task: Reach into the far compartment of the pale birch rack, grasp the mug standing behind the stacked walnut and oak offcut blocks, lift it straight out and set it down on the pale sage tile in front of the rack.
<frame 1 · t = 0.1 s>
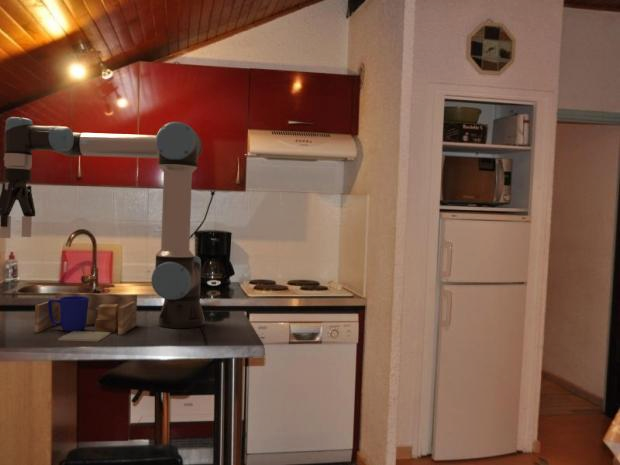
hand: (16, 237, 180), 28 cm above the counter, fingers open, 13 cm apart
offcut walnut: (108, 330, 182), on the counter, touching offcut oak
offcut oak: (108, 318, 182), point 4 cm above the counter, touching offcut walnut
sage tile: (85, 337, 170), on the counter
rack: (87, 328, 183), on the counter
mug: (67, 330, 180), on the counter
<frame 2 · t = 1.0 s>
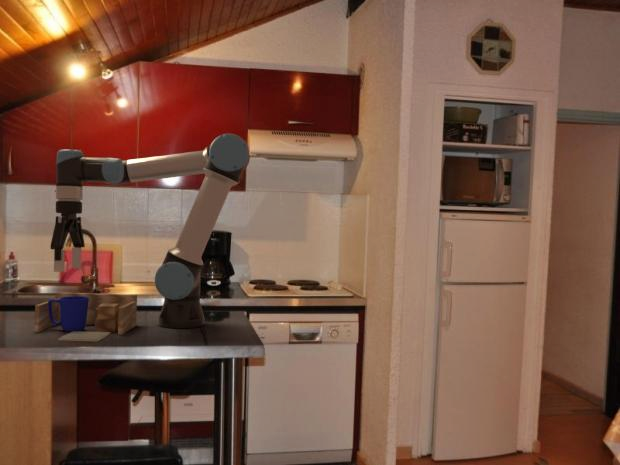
hand: (68, 269, 179), 18 cm above the counter, fingers open, 13 cm apart
nothing on the counter moved.
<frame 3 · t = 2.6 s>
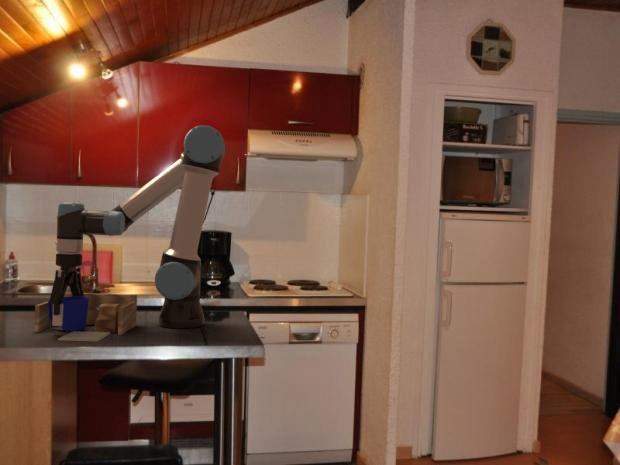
hand: (66, 322, 179), 2 cm above the counter, fingers open, 13 cm apart
nothing on the counter moved.
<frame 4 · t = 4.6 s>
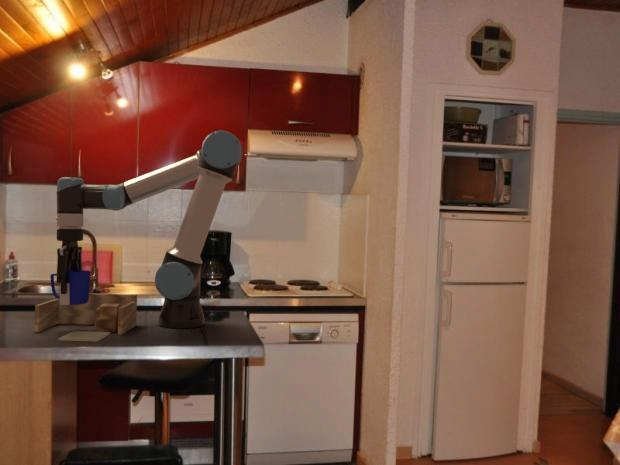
hand: (69, 302, 179), 8 cm above the counter, fingers closed on mug, 7 cm apart
mug: (70, 304, 180), point 8 cm above the counter, touching gripper
everything else where it was.
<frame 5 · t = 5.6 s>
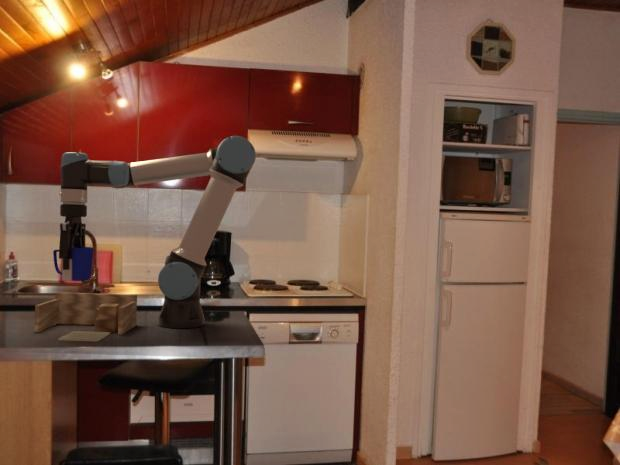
hand: (72, 279, 178), 16 cm above the counter, fingers closed on mug, 7 cm apart
mug: (72, 280, 178), point 15 cm above the counter, touching gripper
everything else where it was.
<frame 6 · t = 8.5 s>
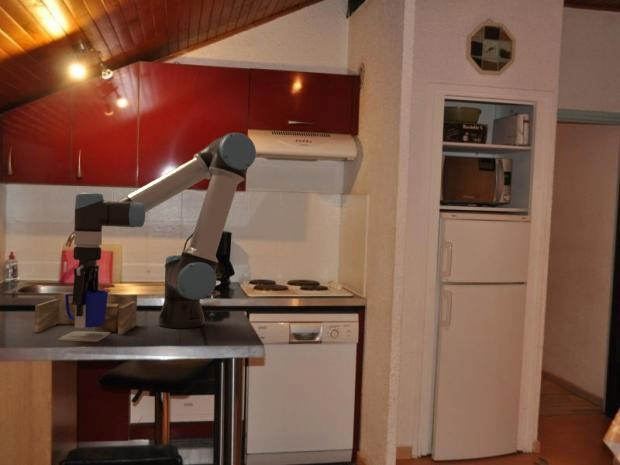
hand: (85, 325, 170), 4 cm above the counter, fingers closed on mug, 7 cm apart
mug: (85, 326, 170), point 3 cm above the counter, touching gripper
everything else where it was.
when the fingers open (2 cm above the counter, at t = 9.2 s): mug drops 1 cm, resting on sage tile.
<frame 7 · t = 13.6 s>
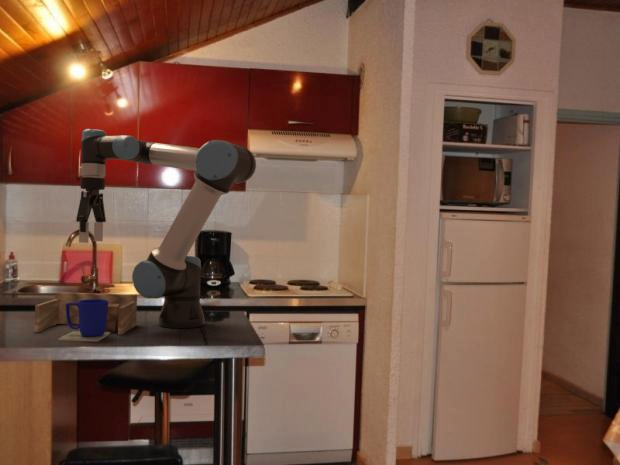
hand: (91, 242, 192), 27 cm above the counter, fingers open, 13 cm apart
mug: (86, 335, 170), resting on sage tile
everything else where it was.
at the end: mug 0.3 cm from the sage tile (horizontally); mug tilted 0°; mug resting on sage tile; mug touching sage tile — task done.
